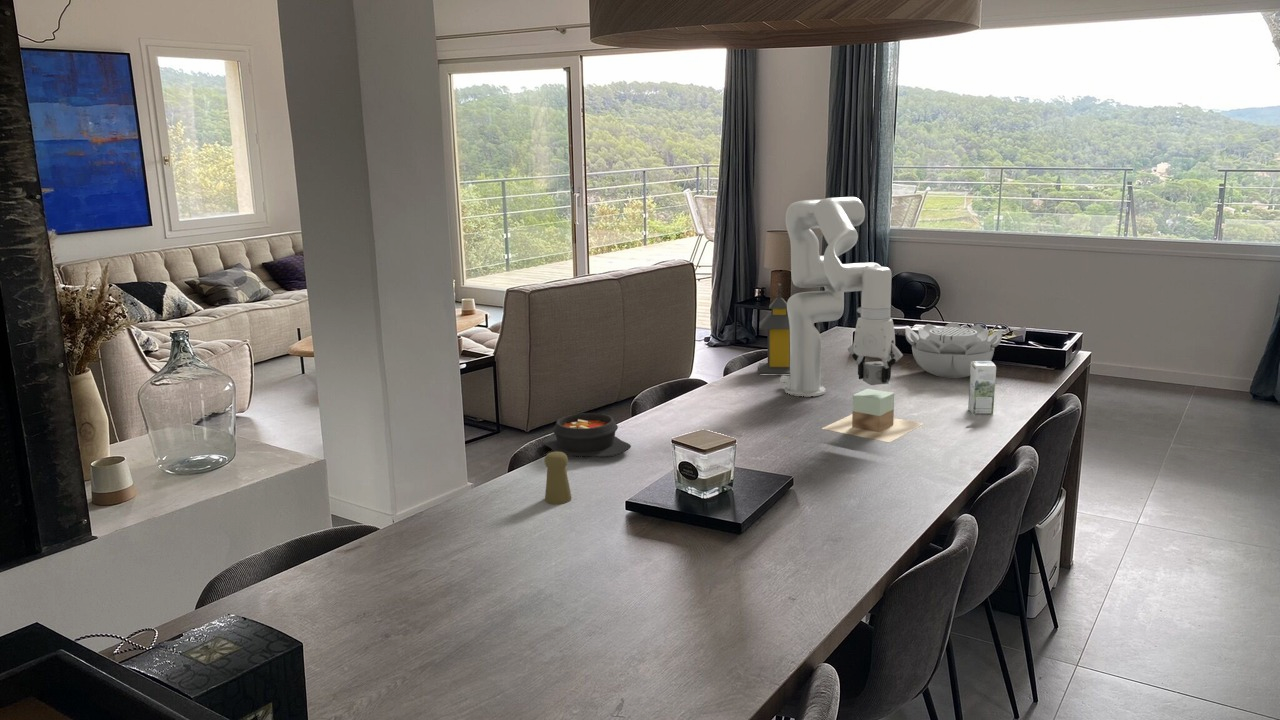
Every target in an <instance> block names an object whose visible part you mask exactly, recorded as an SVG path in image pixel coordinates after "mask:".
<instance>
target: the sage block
mask: <svg viewBox="0 0 1280 720" xmlns="http://www.w3.org/2000/svg"><path fill="white" fill-rule="evenodd" d="M893 409H894V410H895V392H892V391H891V392H890V391H886V390H885V391H884V390H879V389H878V390H877V389H871V388H865V389H863V390H861V391H858V392H856V393H854V394H853V395H852V411H855V412H860V413H866V414H871V415H877V416H881V415H883V414H885V413H887V412H889V411H891V410H893Z"/></svg>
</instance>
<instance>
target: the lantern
mask: <svg viewBox="0 0 1280 720" xmlns="http://www.w3.org/2000/svg"><path fill="white" fill-rule="evenodd" d="M787 302H788V301H786V300H785V299H784V298H783V297H782V283H778V284H777V297H776V298H775V299H774V300H773V301H772V302H770V304H769V306H768V309H769V310H770V309H771V311H770V312H769V313H768V314H767V315H766V316H765V317H764V318H763V319H762V320H760V321H759V326H758V328H759V329H760V330H767V362H759V363H758V375H759V374H790V326H789V318H788V312H787Z"/></svg>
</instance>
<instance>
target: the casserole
mask: <svg viewBox="0 0 1280 720" xmlns="http://www.w3.org/2000/svg"><path fill="white" fill-rule="evenodd" d="M618 428H619V426H618V425H617V423H616V421H615V420H614V418H613V417H612V416H611V415H609V414H606V413H599V412H597V413H596V412H581V413H574V414H572V413H571V414H569V415H565V416H562V417H560V418H558V419H557V420H556V422H555V426H554V427H552V433H553V434H552V435H550V436H548V437H546V438H545V439H544V440H543V441H542V442H541V443H542V445H544V446H546V447H547V448H549V449H551V451H552V452H563V453H565V454H566V456H567V457H571V458H572V457H573V458H593V457H594V458H610V457H615V456H618V455H621V454H623V453H625V452H627V451H629V450H630V449H631V447H632V445H631V444H630V443H628V442H627V441H624V440H621V439H620V438H618V437H617V436H616V431H617V430H618Z"/></svg>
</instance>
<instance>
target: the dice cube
mask: <svg viewBox="0 0 1280 720" xmlns="http://www.w3.org/2000/svg"><path fill="white" fill-rule="evenodd" d="M882 368H884V365H883V362H882V360H881V361H880V360H879V361H868V362H867V361H865V362H864V363H863V379H862V381H863V382H865V383H866V384H868V385H869V386H878V385H888V384H889V381H890V380H888V379H887V382H886V383H882Z"/></svg>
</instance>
